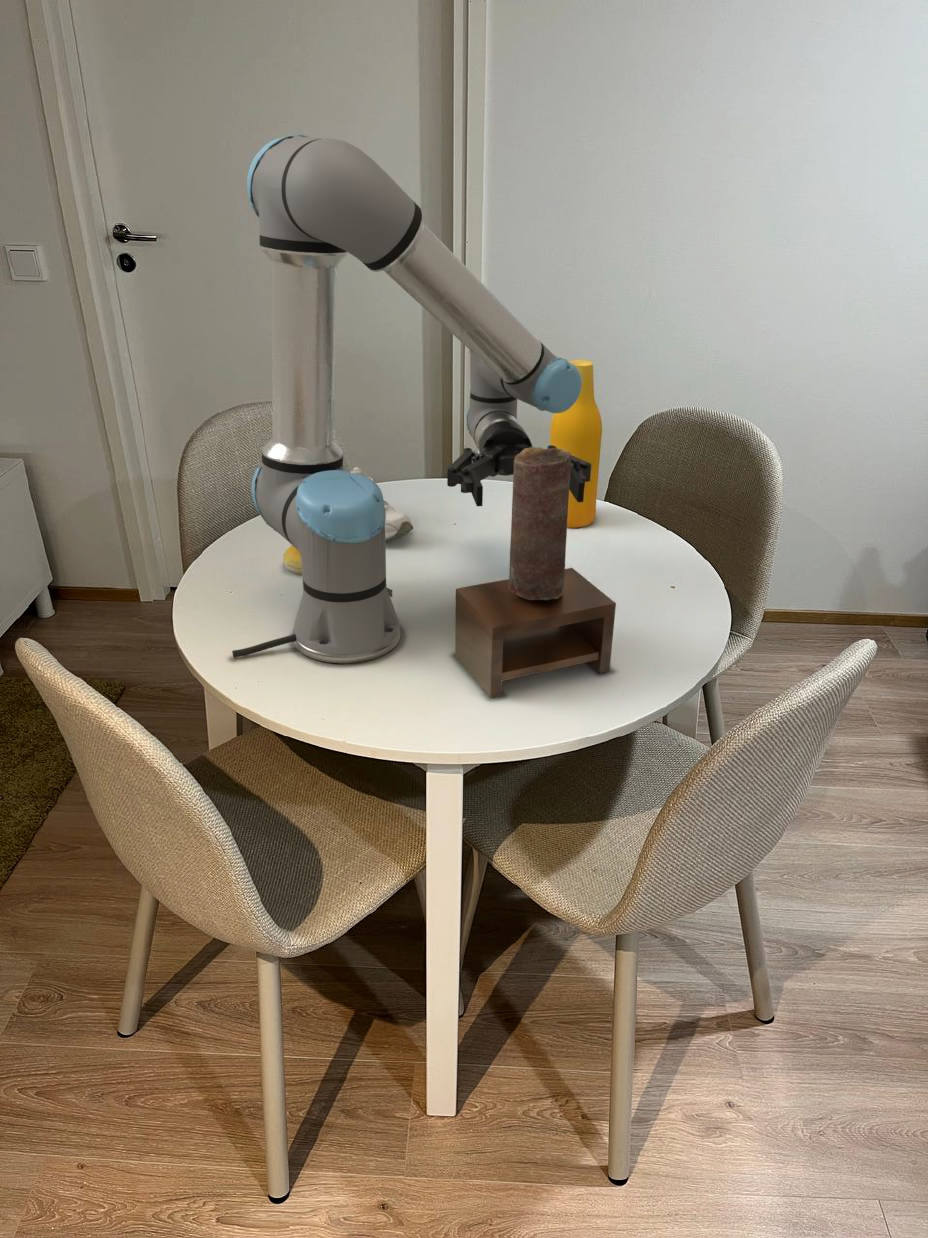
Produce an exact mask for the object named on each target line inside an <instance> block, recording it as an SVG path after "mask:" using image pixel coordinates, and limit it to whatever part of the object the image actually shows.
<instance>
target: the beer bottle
mask: <svg viewBox="0 0 928 1238" xmlns="http://www.w3.org/2000/svg"><path fill="white" fill-rule="evenodd" d="M569 362H570V363H572V364H573V365H575V366H576V367H577V368H578V370H579V372H580V374H581V378H582V388H581V392H580V395H579V397H578V399H577V400H576V402H575V403H574V405H573V406H572V407H571V408H570V409H568V410H566V411H564V412H562V413H553V415H552V419H551V422H550V431H549V432H550V434H549V435H550V436H549V446H550V445H553V446H556V447H557V448H558V449H562V450H567V451H569V452H570V453H571V455H572V456H575V457H577V458H579V459H582V460H584V461H586V462H589V463H591V464H592V465H591V479H590V481H589V482H585V488H584V498H583V502H577V500H576V499H575V497H574V496H573V494H572V493H571V491H570V490H569V501H568V518H567V529H568V528H569V529H570V528H571V529H575V528H576V529H577V528H584V527H587V526H589V525H591V524H592V523H593V522H594V520H595V518H596V513H597V496H598V486H599V485H598V484H599V473H600V459H601V448H602V436H603V422H602V417H601V416H602V415H601V413H600V410H599V407H598V404H597V403H596V399H595V385H594V381H595V380H594V362H592V361H589V360H583V359H575V360H570V361H569Z"/></svg>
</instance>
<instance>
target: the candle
mask: <svg viewBox="0 0 928 1238" xmlns="http://www.w3.org/2000/svg"><path fill="white" fill-rule="evenodd" d="M570 469H571V453H570V452H569V451H567V450H562V449H556V448H550V449H548V448H543V447H538V446H537V447H535V446H532V448H525V449H524V450H523V451H522V452H520V454H518V455H517V456H516V457H515V458H514V472H513V475H512V499H511V500H512V501H511V521H510V522H511V523H510V524H511V526H510V544H509V545H510V547H509V565H508V579H509V591H510V592H511V593H512V594H516V595H518V596H520V597H523V598H525V599H528V600H550V599H558V598H559V597H560V596H562V595H563V588H564V574H565V569H566V555H567V554H566V553H567V539H568V537H567V536H568V535H567V534H568V527H567V518H568V501H569V483H570Z"/></svg>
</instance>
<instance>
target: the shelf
mask: <svg viewBox="0 0 928 1238" xmlns="http://www.w3.org/2000/svg"><path fill="white" fill-rule="evenodd" d="M454 603H455V606H454V607H455V611H454V613H455V615H454V622H455V623H454V625H455V626H454V656H455V658H457V660H458V661H459V662H460V663H461V665H462V666H463V667H464V669H465V670H466V671H467V672H468V673H469V674H470V675H471V676H472V678H473V679H474V680H475V682H476V683H478V685H479V686H480V687H481V688H482V689H483V691H484V692H485V693H486V694H487V696H488V697H489V698H490V699H492V698H496V697H501V696H502V685H503V681H507V680H513V679H516V678H521V677H527V676H530V675H534V674H539V673H544V672H548V671H553V670H558V669H563V668H567V667H571V666H576V665H580V664H584V663H588V664H589V665H590V666H591V667H592V668H593V669H594V670H595V671H596V672H597V673H598V674H604V673H607V672H610V670H611V659H612V649H613V640H614V628H615V619H616V607H617V603H616V602H615V600H613V599H611V598H610V597H609V596H608V595H606V594H605V593H604V592H603V591H602V590H601V589H599V588H598V587H597V586H596V585H595V584H594V583H592V582H590V581H589V580H588V579H587V578H586V577H585V576H583V575H582V574H581V573H580V572H578V571H577V570H575V568H573V567H569V568H565V574H564V588H563V595H562V596H560V597H559V598H558V599H550V600H528V599H525V598H523V597H520V596H518V595H516V594H512V593H511V592H510V591H509V578H507V579H501V580H497V581H496V580H495V581H490V582H485V583H484V582H483V583H477V584H473V585H468V586H462V587H456V588H455V602H454Z"/></svg>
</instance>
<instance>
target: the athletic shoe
mask: <svg viewBox="0 0 928 1238" xmlns="http://www.w3.org/2000/svg"><path fill="white" fill-rule="evenodd" d="M349 472H351V474H356V473H358V474H361V475H363V476H366V477H368V478H369V479H371V480H372V481H374V478H373V477H372V476H368V475H367V473H364V472H363V469H361V468H359V467H358V466H356V467H353V468H352V470H351V471H350V470H349ZM384 507H385V511H386V521H385V542H388V541H391V540H394V539H396V538H399V537H401V536H404V535H405V534H408V533H410V532H411V531H413V530H414V524H413V523H412V520H411V519H410V518H409V517H408V516H407V514H405V513H403V512H401V511H399V510H397V509H396V508H394V507H393V506H392V505H390V504H389V502H387V501H386V500H384Z"/></svg>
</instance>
